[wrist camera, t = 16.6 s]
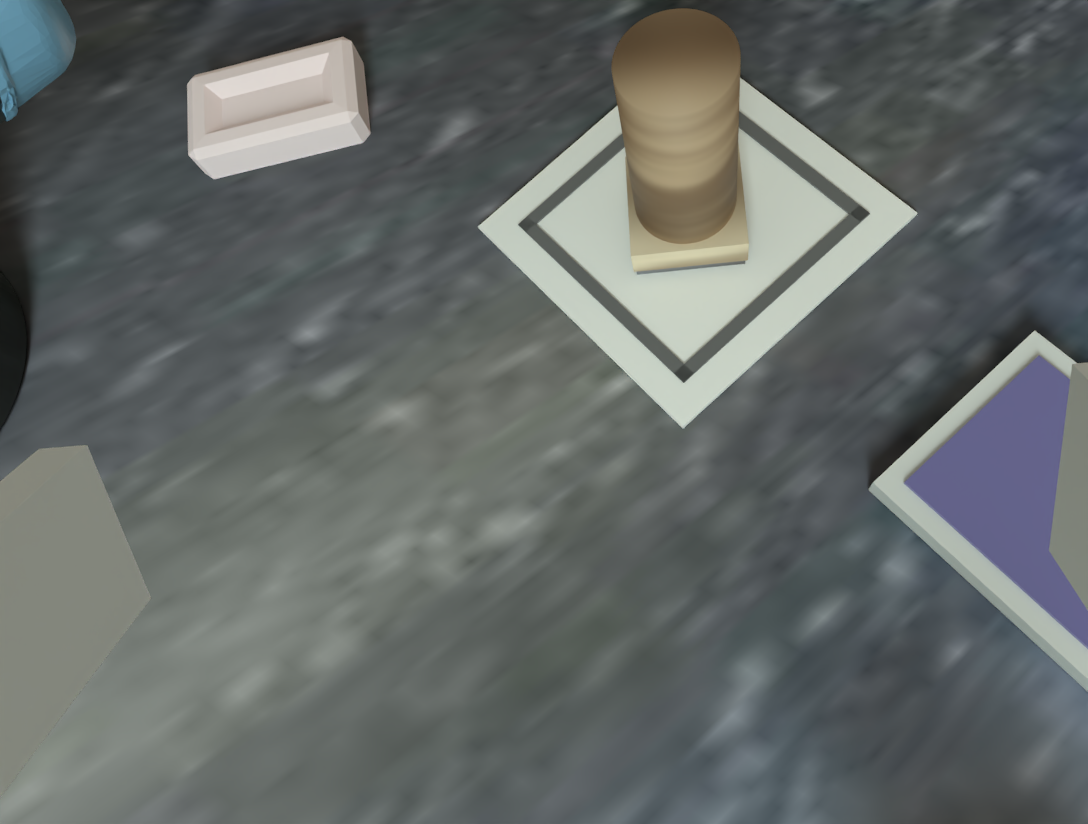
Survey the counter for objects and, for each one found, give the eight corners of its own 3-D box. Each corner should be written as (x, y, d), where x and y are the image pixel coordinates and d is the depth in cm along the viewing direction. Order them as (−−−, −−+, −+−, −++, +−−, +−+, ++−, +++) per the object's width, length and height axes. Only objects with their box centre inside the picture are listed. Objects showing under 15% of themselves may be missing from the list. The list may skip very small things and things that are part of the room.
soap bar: (207, 101, 50) (183, 72, 48) (365, 61, 49) (348, 29, 47) (209, 185, 48) (184, 158, 46) (373, 145, 47) (356, 115, 45)
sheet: (478, 228, 44) (477, 225, 44) (691, 43, 45) (691, 39, 45) (682, 428, 39) (682, 426, 39) (916, 215, 40) (917, 211, 40)
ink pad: (868, 489, 37) (873, 481, 36) (1025, 342, 38) (1036, 328, 36) (1128, 728, 33) (1145, 729, 31) (1299, 557, 33) (1322, 550, 32)
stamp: (747, 265, 41) (756, 112, 30) (634, 277, 41) (606, 131, 31) (737, 168, 42) (742, -9, 32) (629, 181, 43) (600, 12, 33)
